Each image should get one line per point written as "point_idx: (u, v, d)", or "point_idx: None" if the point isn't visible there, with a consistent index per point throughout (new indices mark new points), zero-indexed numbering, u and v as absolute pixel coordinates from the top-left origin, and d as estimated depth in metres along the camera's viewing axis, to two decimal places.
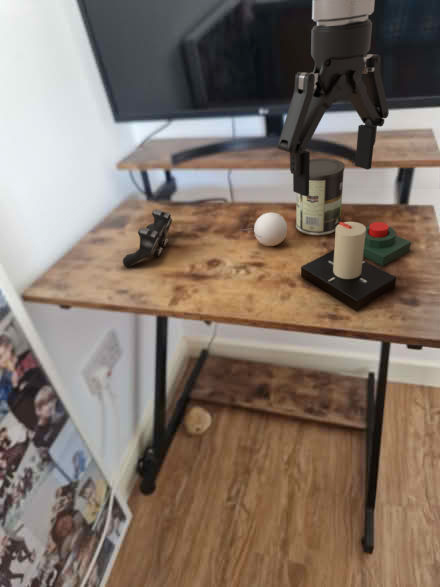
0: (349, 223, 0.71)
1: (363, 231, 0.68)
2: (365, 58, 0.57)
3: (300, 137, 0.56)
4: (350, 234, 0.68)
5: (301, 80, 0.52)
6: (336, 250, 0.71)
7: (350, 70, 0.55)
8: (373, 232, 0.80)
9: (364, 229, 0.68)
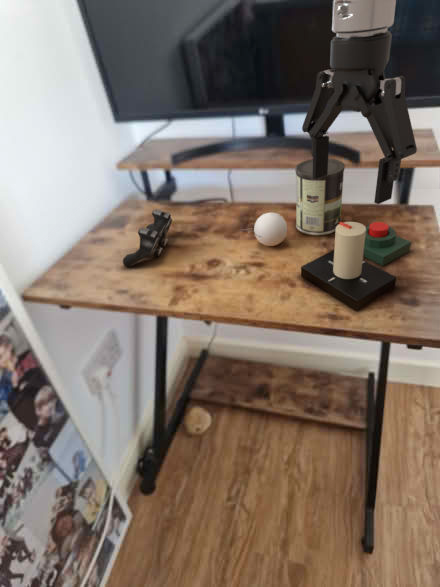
0: (349, 223, 0.71)
1: (363, 231, 0.68)
2: (330, 73, 0.59)
3: None
4: (350, 234, 0.68)
5: (398, 85, 0.51)
6: (336, 250, 0.71)
7: None
8: (373, 232, 0.80)
9: (364, 229, 0.68)
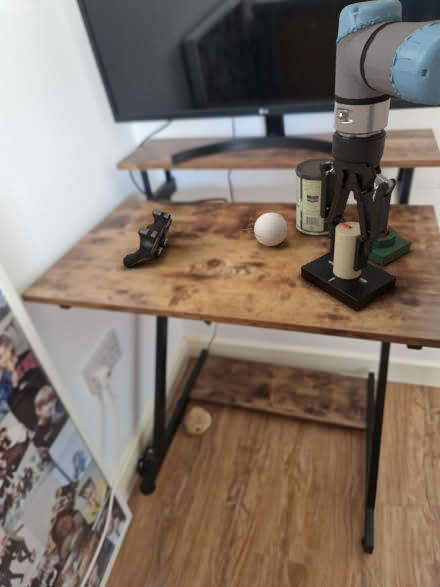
0: (349, 223, 0.71)
1: None
2: (330, 162, 0.67)
3: None
4: (350, 234, 0.68)
5: (390, 188, 0.59)
6: (336, 250, 0.71)
7: None
8: None
9: None
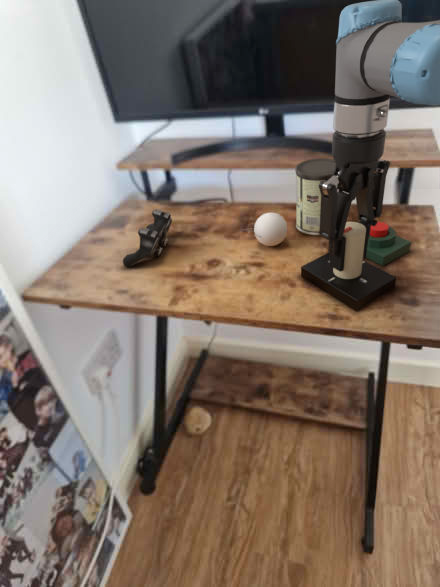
0: None
1: (356, 222, 0.71)
2: (331, 180, 0.61)
3: None
4: (363, 228, 0.69)
5: None
6: (357, 253, 0.70)
7: None
8: (373, 232, 0.80)
9: (352, 222, 0.71)
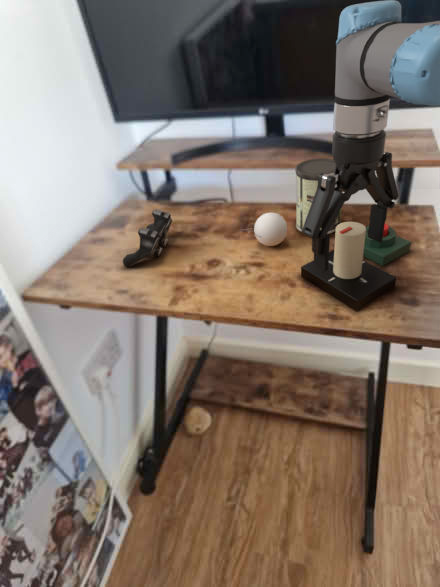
0: (340, 228, 0.70)
1: (356, 222, 0.71)
2: (332, 174, 0.60)
3: None
4: (363, 228, 0.69)
5: None
6: (356, 253, 0.70)
7: None
8: None
9: (352, 222, 0.71)
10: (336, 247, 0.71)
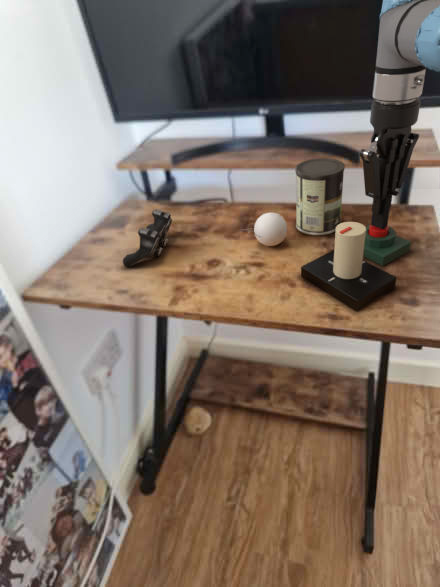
0: (340, 228, 0.70)
1: (356, 222, 0.71)
2: (371, 147, 0.68)
3: None
4: (363, 228, 0.69)
5: None
6: (356, 253, 0.70)
7: None
8: (373, 233, 0.80)
9: (352, 222, 0.71)
10: (336, 247, 0.71)
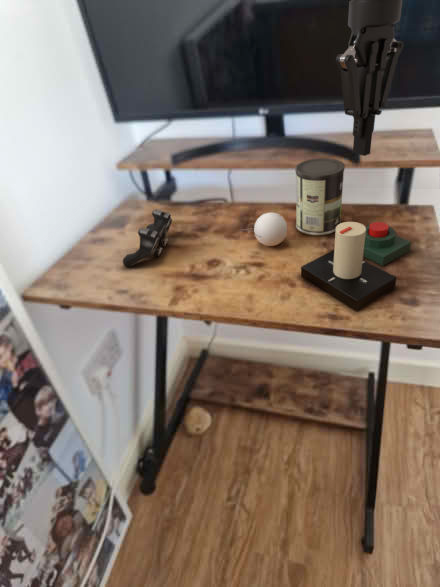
0: (340, 228, 0.70)
1: (356, 222, 0.71)
2: (348, 51, 0.61)
3: None
4: (363, 228, 0.69)
5: None
6: (356, 253, 0.70)
7: None
8: (373, 232, 0.80)
9: (352, 222, 0.71)
10: (336, 247, 0.71)
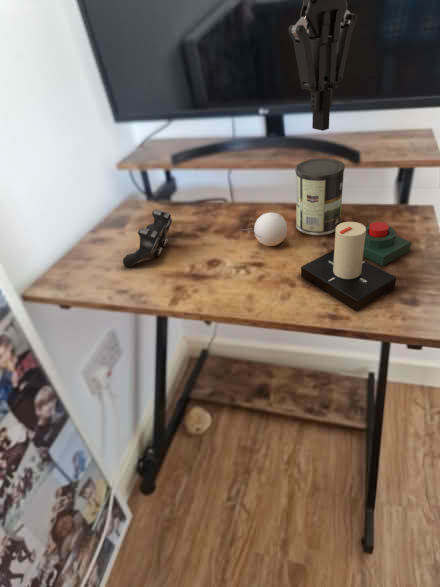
0: (340, 228, 0.70)
1: (356, 222, 0.71)
2: (299, 21, 0.61)
3: None
4: (363, 228, 0.69)
5: None
6: (356, 253, 0.70)
7: None
8: (373, 232, 0.80)
9: (352, 222, 0.71)
10: (336, 247, 0.71)
